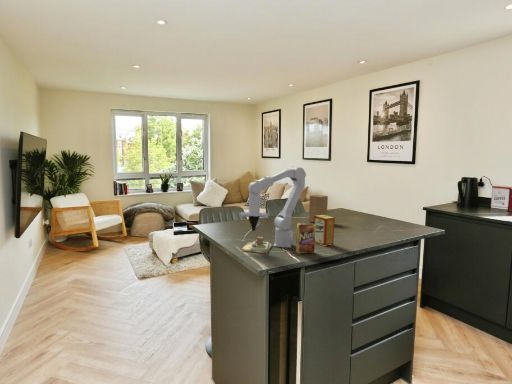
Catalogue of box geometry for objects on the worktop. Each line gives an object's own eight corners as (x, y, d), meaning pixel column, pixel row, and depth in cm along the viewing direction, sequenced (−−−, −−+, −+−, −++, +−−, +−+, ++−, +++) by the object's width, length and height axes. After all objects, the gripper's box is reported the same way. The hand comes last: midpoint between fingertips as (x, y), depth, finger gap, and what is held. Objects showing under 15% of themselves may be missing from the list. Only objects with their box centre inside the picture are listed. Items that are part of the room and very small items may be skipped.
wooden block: (308, 222, 245) (309, 195, 242) (315, 220, 252) (316, 194, 250) (320, 224, 238) (321, 197, 236) (326, 222, 246) (328, 195, 243)
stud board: (272, 246, 178) (272, 240, 178) (266, 253, 165) (266, 246, 165) (248, 243, 181) (248, 238, 181) (241, 250, 168) (241, 244, 168)
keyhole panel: (268, 243, 179) (268, 234, 179) (266, 250, 166) (267, 241, 166) (253, 242, 180) (253, 234, 179) (250, 249, 167) (250, 240, 166)
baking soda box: (333, 245, 183) (334, 217, 182) (324, 246, 180) (326, 218, 178) (321, 241, 191) (322, 214, 190) (313, 242, 188) (314, 215, 186)
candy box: (297, 254, 165) (298, 224, 163) (295, 251, 169) (296, 222, 167) (314, 254, 165) (315, 224, 164) (312, 251, 170) (313, 222, 168)
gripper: (269, 204, 175) (268, 229, 176) (242, 203, 177) (242, 227, 179) (267, 206, 168) (266, 232, 169) (239, 205, 170) (239, 230, 172)
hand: (253, 230), depth 174 cm, fingers closed
